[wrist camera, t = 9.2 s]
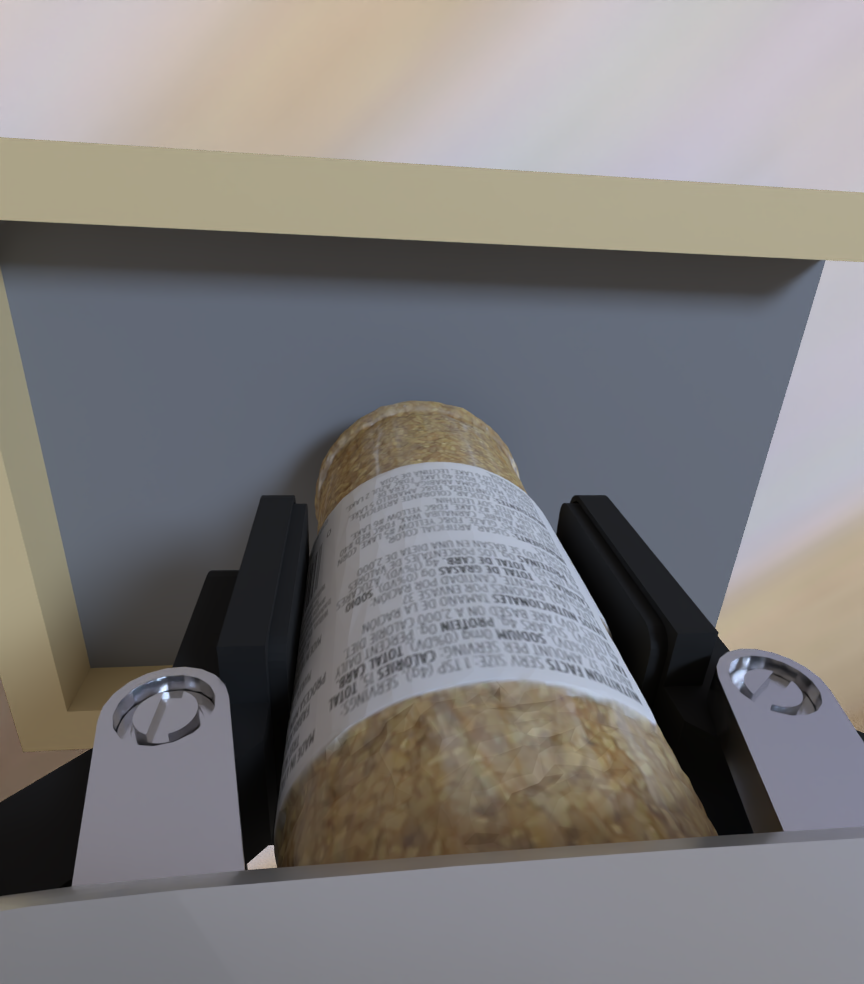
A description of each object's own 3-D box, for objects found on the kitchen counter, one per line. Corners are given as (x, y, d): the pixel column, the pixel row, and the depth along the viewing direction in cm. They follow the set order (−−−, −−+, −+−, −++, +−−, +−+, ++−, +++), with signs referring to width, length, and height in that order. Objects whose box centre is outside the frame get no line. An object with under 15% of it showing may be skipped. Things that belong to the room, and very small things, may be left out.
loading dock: (786, 192, 15) (900, 194, 12) (669, 635, 21) (726, 716, 17) (-41, 141, 13) (-167, 127, 10) (79, 655, 18) (23, 752, 15)
